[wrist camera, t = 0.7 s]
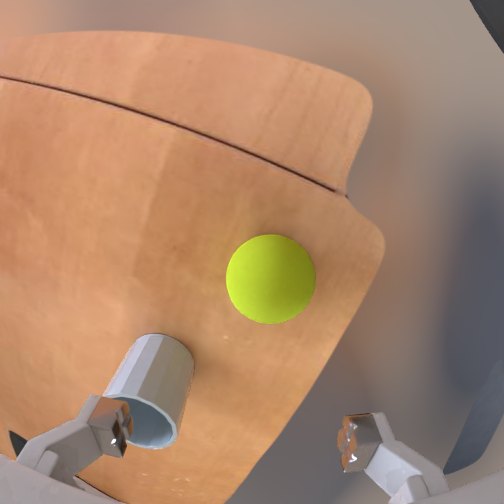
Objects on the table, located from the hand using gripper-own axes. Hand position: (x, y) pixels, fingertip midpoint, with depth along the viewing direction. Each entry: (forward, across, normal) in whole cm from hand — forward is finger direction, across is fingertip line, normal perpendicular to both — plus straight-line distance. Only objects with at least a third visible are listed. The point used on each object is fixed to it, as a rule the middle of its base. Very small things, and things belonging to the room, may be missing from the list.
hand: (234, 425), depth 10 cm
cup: (+17, +8, +11) cm, 22 cm away
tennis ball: (+14, -2, 0) cm, 14 cm away
